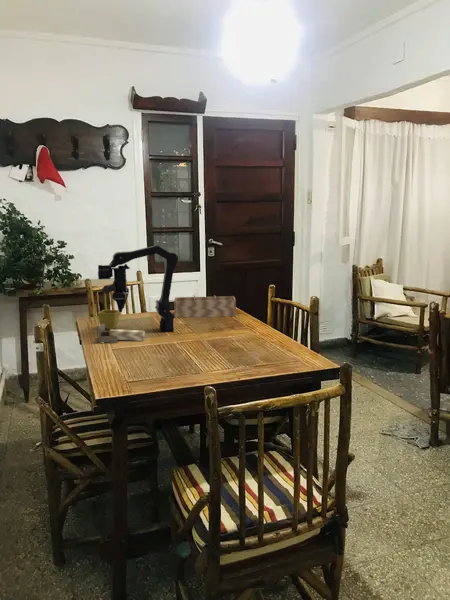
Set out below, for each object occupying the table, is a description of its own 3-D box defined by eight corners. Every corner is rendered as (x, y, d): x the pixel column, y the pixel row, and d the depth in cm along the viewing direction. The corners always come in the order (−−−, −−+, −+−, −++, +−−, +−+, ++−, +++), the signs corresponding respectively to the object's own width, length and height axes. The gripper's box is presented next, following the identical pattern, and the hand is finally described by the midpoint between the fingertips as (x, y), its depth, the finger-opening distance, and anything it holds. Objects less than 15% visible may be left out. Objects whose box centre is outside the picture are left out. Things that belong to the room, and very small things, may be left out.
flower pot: (120, 326, 257) (119, 309, 255) (115, 330, 248) (114, 313, 247) (104, 326, 258) (103, 309, 256) (98, 330, 249) (97, 313, 248)
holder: (234, 311, 292) (233, 294, 290) (235, 316, 280) (235, 298, 278) (175, 313, 290) (174, 295, 288) (174, 317, 278) (174, 299, 276)
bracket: (120, 337, 235) (119, 323, 234) (117, 342, 225) (116, 328, 224) (102, 337, 235) (102, 323, 233) (98, 343, 225) (98, 328, 223)
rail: (144, 339, 232) (144, 330, 231) (143, 340, 228) (143, 332, 228) (111, 337, 232) (111, 329, 232) (109, 339, 229) (109, 330, 228)
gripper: (105, 276, 245) (107, 306, 248) (100, 281, 227) (102, 314, 230) (128, 275, 246) (129, 306, 249) (124, 281, 228) (126, 313, 231)
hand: (121, 310), depth 239 cm, fingers open, 9 cm apart
